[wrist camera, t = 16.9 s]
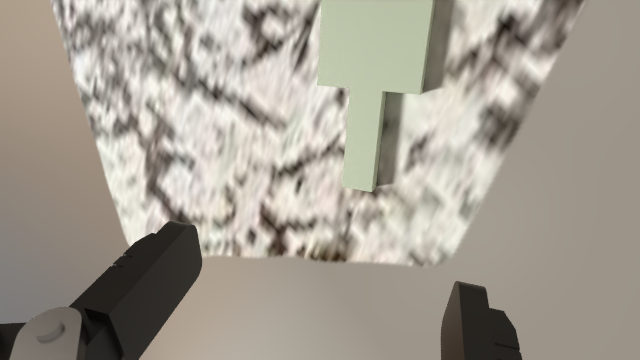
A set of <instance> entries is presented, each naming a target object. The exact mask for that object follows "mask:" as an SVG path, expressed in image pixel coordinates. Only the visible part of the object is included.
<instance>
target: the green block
mask: <svg viewBox="0 0 640 360" xmlns="http://www.w3.org/2000/svg"><path fill="white" fill-rule="evenodd" d="M435 1H436V0H322V7H321V25H320V44H319V63H318V81H317V85H320V86H331V87H342V88H350V94H349V106H348V118H347V131H346V143H345V155H344V167H343V180H342V187H348V188H353V189H358V190H363V191H369V192H372V191H373V190H374V189H375V187H376V183H377V174H378V165H379V156H380V147H381V138H382V129H383V120H384V111H385V102H386V93H387V92H397V93H408V94H419V95H420V94H422V93H423V87H424V79H425V72H426V65H427V58H428V51H429V44H430V37H431V30H432V23H433V15H434V8H435Z"/></svg>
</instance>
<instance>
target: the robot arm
mask: <svg viewBox="0 0 640 360" xmlns="http://www.w3.org/2000/svg"><path fill="white" fill-rule="evenodd" d="M201 267H202V256H201V250H200V245H199V239H198V233H197V229H196V227H195V226H194V225H191V224H187V223H182V222H177V221H169V222H167V223H166V224H165V225H164V226H163V227H162V228H161V229H160V230H159V231H158V232H157V233H156V234H155V233H151V234H149V235H147V236H145V237H144V238H142V239H140V240H138V241H136V242H135V243H134V244H133V245H132V246H131V247H130V248H129V249H128V250H127V251H126V252H125V253H124V254H123V256H122V257H120V258H119V259H118V260H117V261H115V262H114V263H113V266H112V267H111V266H110V267H109V268H108V269H107V270H106V271H105V272H104V273H103V274H102V275H101V276H100V277H99V278H98V279H97V280H96V281H95V282H94V283H93V284H92V285H91V286H90V287H89V288H88V289H87V290H86V291H85V292H84V293H83V294H82V295H80V296H79V298H77V299H76V300H75V301H74V302H73V303H72V304H71V305H70V306H69V307H58V308H54V309H50V310H47V311H45V312H43V313H41V314H39V315H37V316H35V317H34V318H32V319H31V320H30V321H29V322H27V323H11V324H0V360H139V358H140V357H141V355H142V354H143V352H144V351H145V350H146V348H147V347H148V346H149V344H150V343H151V341H152V340H153V339H154V337H155V336H156V335H157V333H158V332H159V331H160V329H161V328H162V326H163V325H164V323H165V322H166V321H167V319H168V318H169V317H170V315H171V314H172V312H173V311H174V310H175V308H176V307H177V306H178V304H179V303H180V301H181V300H182V299H183V297H184V296H185V294H186V293H187V292H188V290H189V289H190V288H191V286H192V285H193V283H194V282H195V281H196V279H197V277H198V276H199V274H200V271H201ZM519 350H520V348H519V343H518V338H517V334H516V329H515V328H514V326H513V325H512V323H511V322H510V320H509V319H508V317H507V316H506V314H505V313H504V311H501V310H496V309H492V308H489V304H488V298H487V292H486V289H485V287H483V286H478V285H473V284H468V283H464V282H459V281H456V282H455V284H454V286H453V289H452V292H451V295H450V298H449V301H448V304H447V307H446V310H445V314H444V317H443V321H442V327H441V360H522V356H521V353H520V352H519Z"/></svg>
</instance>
